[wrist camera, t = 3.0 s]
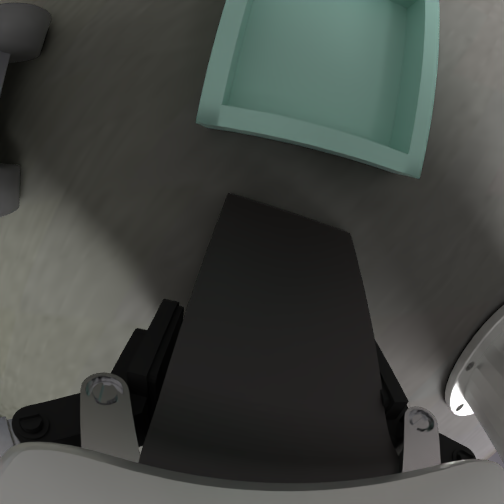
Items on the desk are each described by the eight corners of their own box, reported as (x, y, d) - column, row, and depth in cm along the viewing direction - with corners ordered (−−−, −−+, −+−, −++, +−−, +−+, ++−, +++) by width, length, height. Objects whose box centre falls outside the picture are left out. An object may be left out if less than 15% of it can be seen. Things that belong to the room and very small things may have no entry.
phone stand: (229, 190, 13) (119, 411, 2) (348, 231, 14) (521, 428, 3) (185, 344, 16) (130, 546, 5) (283, 369, 17) (303, 565, 5)
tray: (415, 8, 10) (438, -8, 7) (392, 172, 13) (419, 179, 10) (250, -42, 9) (250, -69, 6) (206, 127, 12) (195, 122, 10)
